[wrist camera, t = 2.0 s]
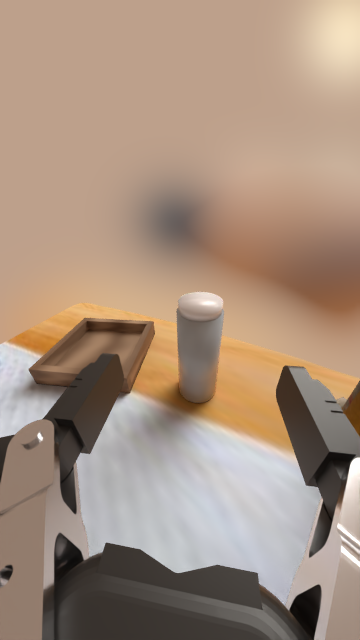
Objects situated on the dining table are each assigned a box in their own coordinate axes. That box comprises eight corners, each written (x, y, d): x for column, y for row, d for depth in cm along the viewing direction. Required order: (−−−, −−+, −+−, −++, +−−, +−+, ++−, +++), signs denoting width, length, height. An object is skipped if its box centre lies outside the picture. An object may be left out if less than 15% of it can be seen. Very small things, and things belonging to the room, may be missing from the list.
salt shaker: (176, 401, 25) (172, 310, 18) (181, 372, 29) (179, 290, 22) (216, 405, 24) (226, 313, 18) (215, 375, 29) (223, 291, 22)
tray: (36, 383, 28) (28, 369, 26) (88, 329, 40) (84, 317, 38) (129, 392, 26) (126, 378, 25) (154, 333, 38) (153, 321, 37)
